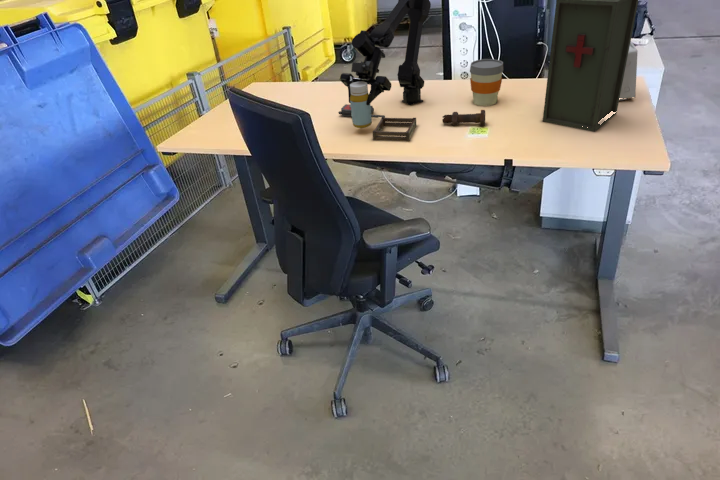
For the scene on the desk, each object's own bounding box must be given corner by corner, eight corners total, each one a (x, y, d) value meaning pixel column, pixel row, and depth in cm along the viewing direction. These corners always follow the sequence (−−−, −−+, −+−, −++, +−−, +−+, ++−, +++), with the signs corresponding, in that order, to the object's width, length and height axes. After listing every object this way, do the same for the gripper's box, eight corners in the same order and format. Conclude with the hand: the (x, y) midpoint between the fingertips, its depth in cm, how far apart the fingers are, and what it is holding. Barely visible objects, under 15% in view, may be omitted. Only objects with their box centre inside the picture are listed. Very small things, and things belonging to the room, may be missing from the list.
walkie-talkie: (336, 118, 204) (384, 121, 197) (335, 107, 201) (383, 109, 194) (344, 110, 210) (391, 112, 204) (343, 99, 208) (390, 101, 201)
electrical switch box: (583, 95, 207) (583, 45, 196) (624, 88, 203) (625, 36, 193) (592, 108, 195) (592, 55, 184) (635, 101, 191) (637, 46, 181)
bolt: (443, 128, 191) (485, 127, 187) (441, 126, 186) (484, 125, 182) (443, 112, 190) (485, 110, 186) (442, 109, 185) (485, 108, 181)
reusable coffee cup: (499, 108, 198) (502, 68, 190) (466, 107, 202) (467, 68, 193) (502, 96, 208) (505, 58, 199) (471, 96, 211) (472, 58, 203)
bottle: (362, 130, 185) (358, 88, 176) (349, 125, 189) (344, 85, 181) (376, 123, 188) (372, 83, 180) (362, 119, 193) (359, 79, 185)
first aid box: (616, 114, 183) (640, -10, 161) (594, 131, 172) (617, 1, 150) (565, 105, 194) (581, -12, 172) (542, 121, 183) (556, -1, 161)
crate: (382, 125, 194) (381, 117, 192) (416, 125, 190) (416, 117, 188) (373, 140, 183) (372, 131, 181) (409, 141, 179) (408, 132, 177)
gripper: (338, 50, 182) (325, 91, 181) (385, 52, 173) (371, 96, 172) (352, 66, 192) (340, 105, 190) (397, 69, 183) (384, 110, 182)
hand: (358, 103), depth 183 cm, fingers closed on bottle, 7 cm apart
